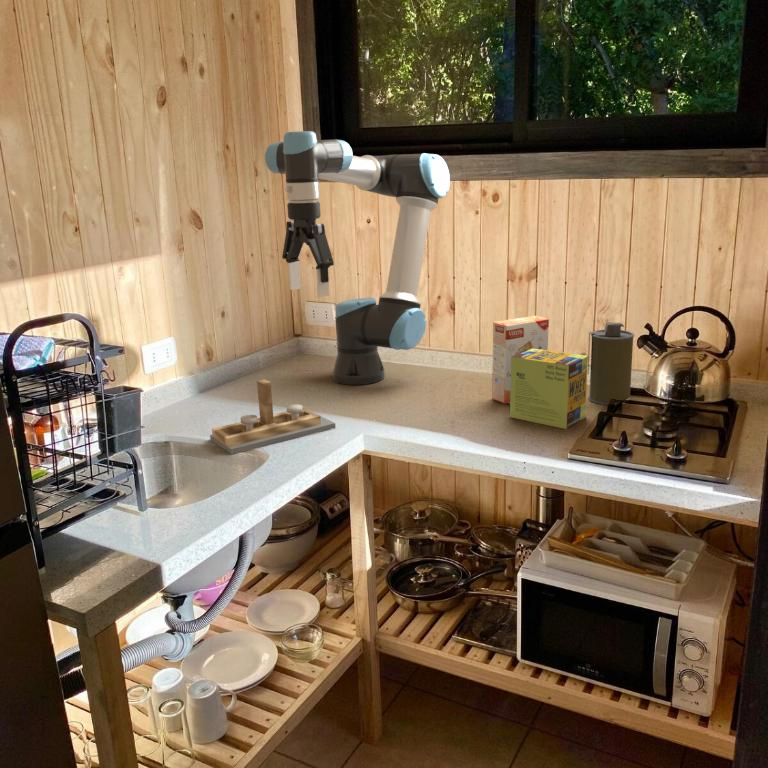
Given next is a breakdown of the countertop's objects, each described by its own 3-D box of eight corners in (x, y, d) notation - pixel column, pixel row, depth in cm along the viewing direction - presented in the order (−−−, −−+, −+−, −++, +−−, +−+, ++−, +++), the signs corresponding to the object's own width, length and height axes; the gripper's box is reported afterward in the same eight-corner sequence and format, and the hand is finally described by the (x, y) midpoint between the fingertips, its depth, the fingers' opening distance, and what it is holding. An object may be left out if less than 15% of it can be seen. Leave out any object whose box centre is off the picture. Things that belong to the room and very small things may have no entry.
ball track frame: (303, 415, 198) (300, 368, 195) (320, 424, 191) (317, 375, 188) (212, 436, 185) (207, 387, 182) (228, 447, 178) (223, 395, 175)
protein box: (567, 429, 185) (569, 365, 181) (509, 417, 195) (509, 356, 190) (586, 417, 193) (589, 355, 189) (530, 406, 203) (531, 347, 198)
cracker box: (505, 405, 204) (506, 325, 198) (491, 399, 209) (491, 321, 203) (547, 395, 211) (549, 317, 205) (533, 390, 216) (534, 314, 210)
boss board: (310, 415, 201) (309, 395, 200) (335, 427, 192) (334, 406, 190) (210, 439, 187) (208, 417, 185) (231, 454, 177) (229, 431, 176)
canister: (627, 393, 210) (631, 319, 204) (633, 405, 200) (637, 328, 194) (584, 393, 212) (587, 319, 206) (589, 405, 202) (592, 328, 196)
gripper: (264, 200, 192) (271, 288, 198) (316, 204, 172) (321, 301, 178) (292, 198, 196) (297, 284, 202) (345, 202, 176) (350, 297, 182)
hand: (309, 292), depth 190 cm, fingers open, 13 cm apart
